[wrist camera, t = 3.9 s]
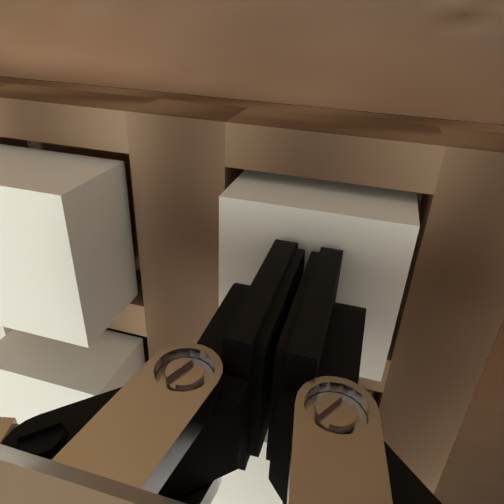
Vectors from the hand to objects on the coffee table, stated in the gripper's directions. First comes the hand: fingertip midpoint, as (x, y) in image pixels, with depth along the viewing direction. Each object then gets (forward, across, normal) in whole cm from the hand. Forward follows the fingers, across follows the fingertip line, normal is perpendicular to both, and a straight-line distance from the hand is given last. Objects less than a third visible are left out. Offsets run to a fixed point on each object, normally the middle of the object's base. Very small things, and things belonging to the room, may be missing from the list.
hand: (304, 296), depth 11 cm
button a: (+3, 0, 0) cm, 3 cm away
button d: (+2, +8, +6) cm, 10 cm away
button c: (+2, +8, 0) cm, 8 cm away
